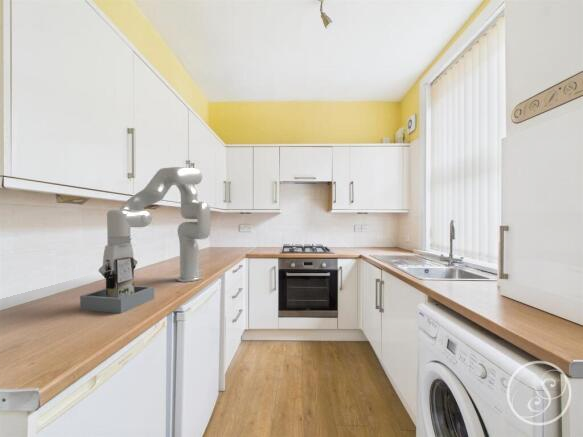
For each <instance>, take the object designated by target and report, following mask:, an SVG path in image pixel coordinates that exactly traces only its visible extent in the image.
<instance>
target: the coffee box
mask: <svg viewBox="0 0 583 437" xmlns="http://www.w3.org/2000/svg"><path fill="white" fill-rule="evenodd" d="M134 259H135V258H134V256H133V257H127V258H121V259H116V260H115V271H114V276H113V278H114V282H115V288H114V289H108V288H106V287H105V289H106V297H114V298H122V297H125V296H128V295H131V294H133V293H134V286H135V269H134ZM106 272H107V271H106ZM110 274H111V272H110Z"/></svg>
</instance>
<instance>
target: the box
mask: <svg viewBox="0 0 583 437" xmlns="http://www.w3.org/2000/svg"><path fill="white" fill-rule="evenodd" d="M154 299H155V286H146V285H134V293H133V294H131V295H128V296H125V297H122V298H114V297H106V288H102V289H100V290H97V291H96V290H95V291H93V292H90V293H86V294H83V295H80V297H79V303H80V305H79V306H80V308H79V310H81V311H90V312H91V311H92V312H103V313H115V314H123V313H125V312H127V311H129V310H132V309H133V308H137V307H138V306H141V305H143V304H145V303H147V302H150V301H152V300H154Z"/></svg>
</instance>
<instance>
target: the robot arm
mask: <svg viewBox="0 0 583 437" xmlns="http://www.w3.org/2000/svg"><path fill="white" fill-rule="evenodd" d="M202 180H203V173H202V172H201V170H199V169H198V168H196V167H183V166H182V167H181V166H173V167H163V168H160V169H159V170H158V171H157V172H156V173H155V174H154V175H153V176H152V178H151V179H150V181H149V182H148V183H147V185H146V186H145V187H144V188H143V189H142V190H140V191H139V192H137V193H135V194H134V195H133V196H131V197H129V198H128V199H127V200H126V201H125V202H124V204H122V206H120V208H119V209H109V210H108V211H107V212H106V229H107V233H106V234H107V238H106V239H107V245H105V246H104V251H103V257H102V258H103V259H102V265H101V267H99V269H98V272H99V273H100V274H101V276H102V277H104V279H105V289H106V288H108V289H114V288H115V282H114V278H113V276H114V271H115V260H116V259H121V258H127V257H133V258H134V250H133V249H134V248H133V245H132V237H131V228H145V227H147V226H149V225H150V224H151V222H152V219H153V218H152V214H151V213H150V212H149V211H147V210H145V209H144V208H146V207H148V206H152V205H154V204H156V203H158V202H160V201H162V200H163V199H164V198H165V196H166V195H167V194H168V192H169V191H170V188H171V187H172V186H176V187H177V189H178V190H179V193H180V215H181V217H182V219H186V220H196V221H184V222H183V221H182V223H180V224H179V225H178V227H177V236H178V240H179V276H178V277H176V281H178V282H181V283H183V282H184V283H187V282H189V283H191V282H196V281H199V280H201V279H202V278H203V276H202V275H201V274H200V273H202V272H203V269H202V268H199V264H200V263H199V259H200V258H199V248H200V247H199V244H198V242H197V240H206V239H207V238H209V237H210V235H211V208H210V205H209V204H208V203H207V202H205V201H198V191H197V189H196V188H195V186H196V185H199V184H200V183H201V182H202ZM194 185H195V186H194ZM137 264H138V260H136V259H135V258H134V270H135V269H136V267H137ZM106 271H107V272H106ZM110 272H111V274H110Z"/></svg>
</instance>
